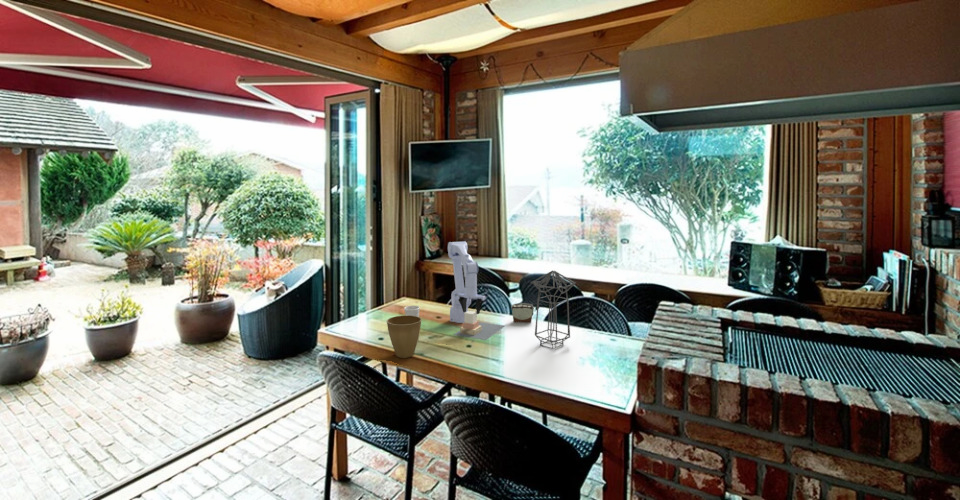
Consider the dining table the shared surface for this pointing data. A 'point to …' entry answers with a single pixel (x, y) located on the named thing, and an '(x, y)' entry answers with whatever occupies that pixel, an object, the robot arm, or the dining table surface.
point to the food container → (522, 312)
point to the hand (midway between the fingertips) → (471, 312)
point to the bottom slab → (471, 330)
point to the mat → (483, 331)
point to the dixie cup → (412, 310)
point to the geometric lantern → (551, 304)
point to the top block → (470, 317)
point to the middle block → (471, 325)
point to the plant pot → (404, 334)
